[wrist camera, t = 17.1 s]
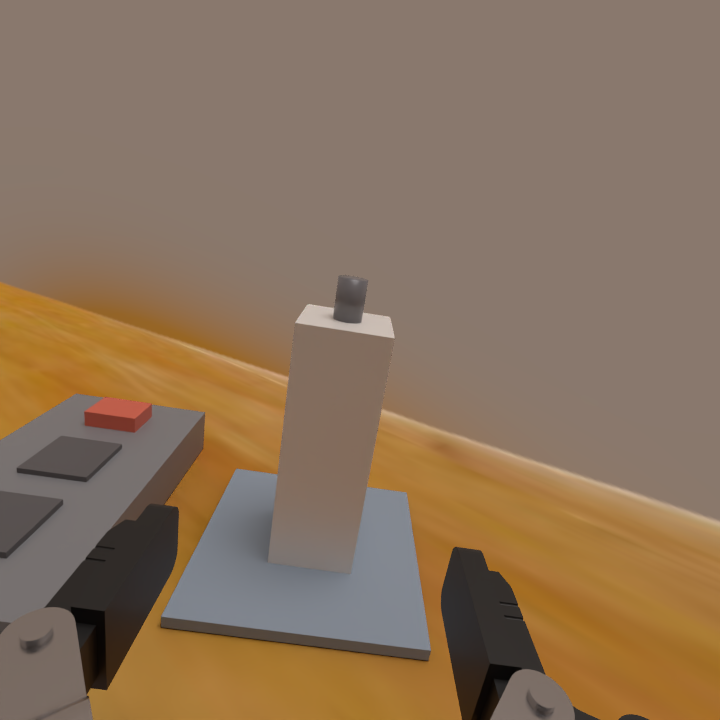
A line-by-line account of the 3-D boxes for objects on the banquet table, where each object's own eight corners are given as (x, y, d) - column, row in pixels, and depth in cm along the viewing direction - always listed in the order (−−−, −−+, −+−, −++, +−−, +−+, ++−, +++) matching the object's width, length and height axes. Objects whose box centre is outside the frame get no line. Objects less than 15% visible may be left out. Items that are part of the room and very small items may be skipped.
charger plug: (350, 574, 23) (403, 293, 19) (267, 562, 23) (300, 276, 19) (353, 520, 28) (396, 279, 23) (282, 510, 27) (312, 266, 23)
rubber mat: (428, 660, 20) (430, 650, 20) (161, 626, 20) (161, 616, 19) (404, 499, 32) (406, 492, 31) (235, 476, 31) (236, 468, 31)
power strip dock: (-239, 1082, 9) (-298, 980, 8) (-743, 1041, 9) (-884, 926, 7) (203, 448, 34) (205, 400, 33) (77, 430, 33) (75, 381, 32)
